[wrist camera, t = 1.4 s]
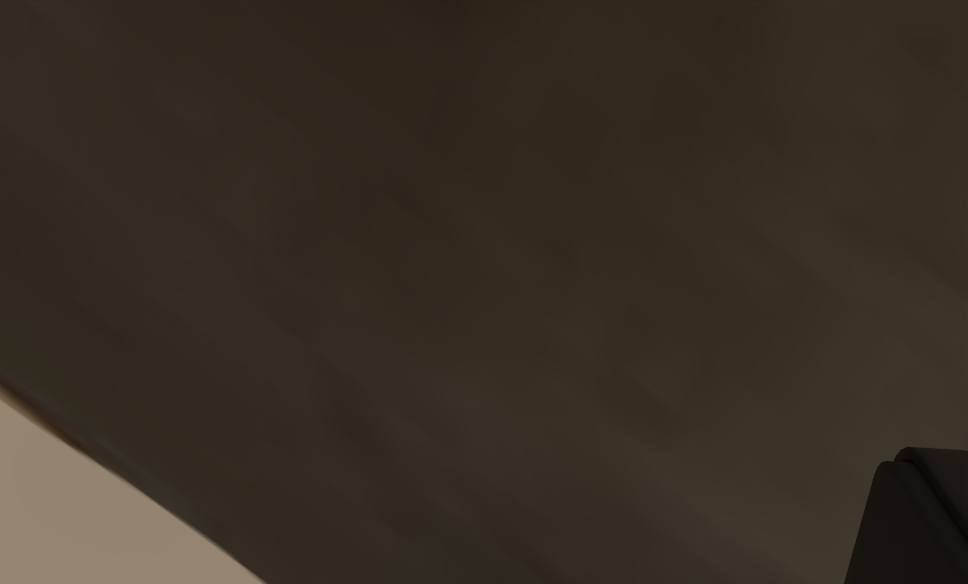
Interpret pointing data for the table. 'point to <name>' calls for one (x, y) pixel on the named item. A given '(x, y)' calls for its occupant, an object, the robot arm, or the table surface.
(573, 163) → the table surface
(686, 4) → the table surface
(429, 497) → the table surface
